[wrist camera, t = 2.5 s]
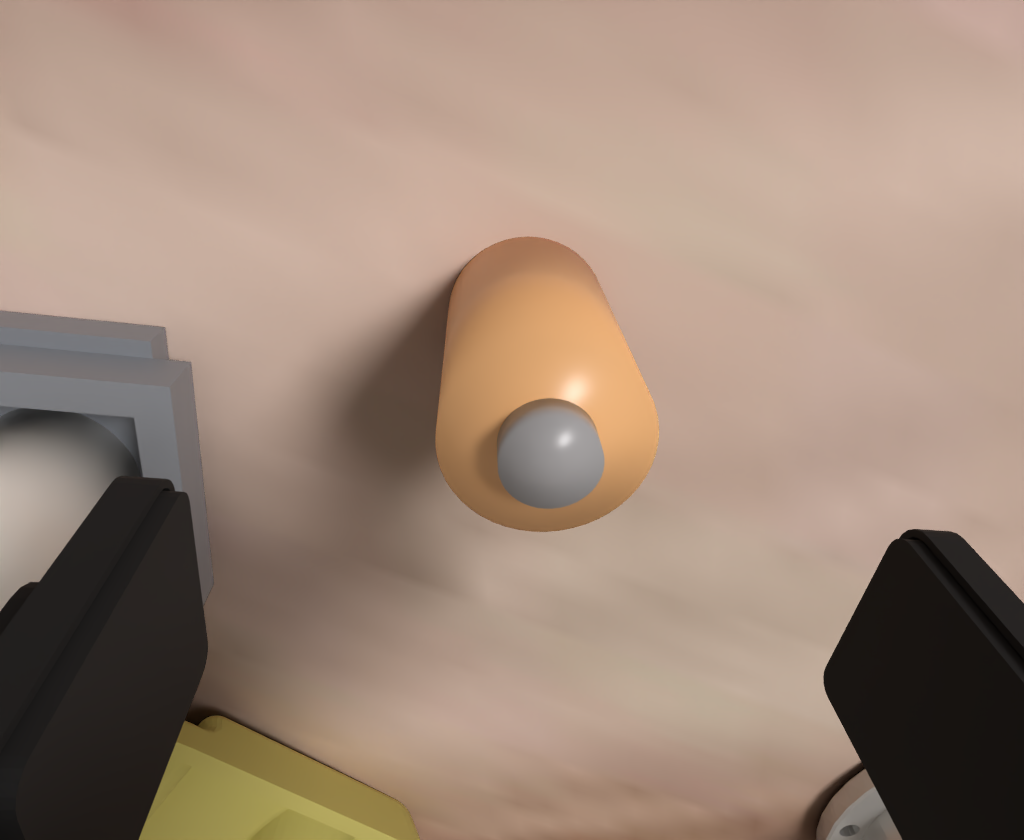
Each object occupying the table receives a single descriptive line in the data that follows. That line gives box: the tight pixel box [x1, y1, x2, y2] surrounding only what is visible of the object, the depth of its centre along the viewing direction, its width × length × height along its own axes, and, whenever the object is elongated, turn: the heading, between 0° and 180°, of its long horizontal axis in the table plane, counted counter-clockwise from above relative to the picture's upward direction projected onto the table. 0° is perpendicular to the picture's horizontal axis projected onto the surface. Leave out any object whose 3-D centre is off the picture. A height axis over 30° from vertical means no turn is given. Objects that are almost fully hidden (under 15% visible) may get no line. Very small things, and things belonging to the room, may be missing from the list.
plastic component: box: [139, 715, 420, 840], centre depth 28 cm, size 20×7×10 cm
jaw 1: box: [435, 237, 659, 532], centre depth 17 cm, size 4×4×8 cm
